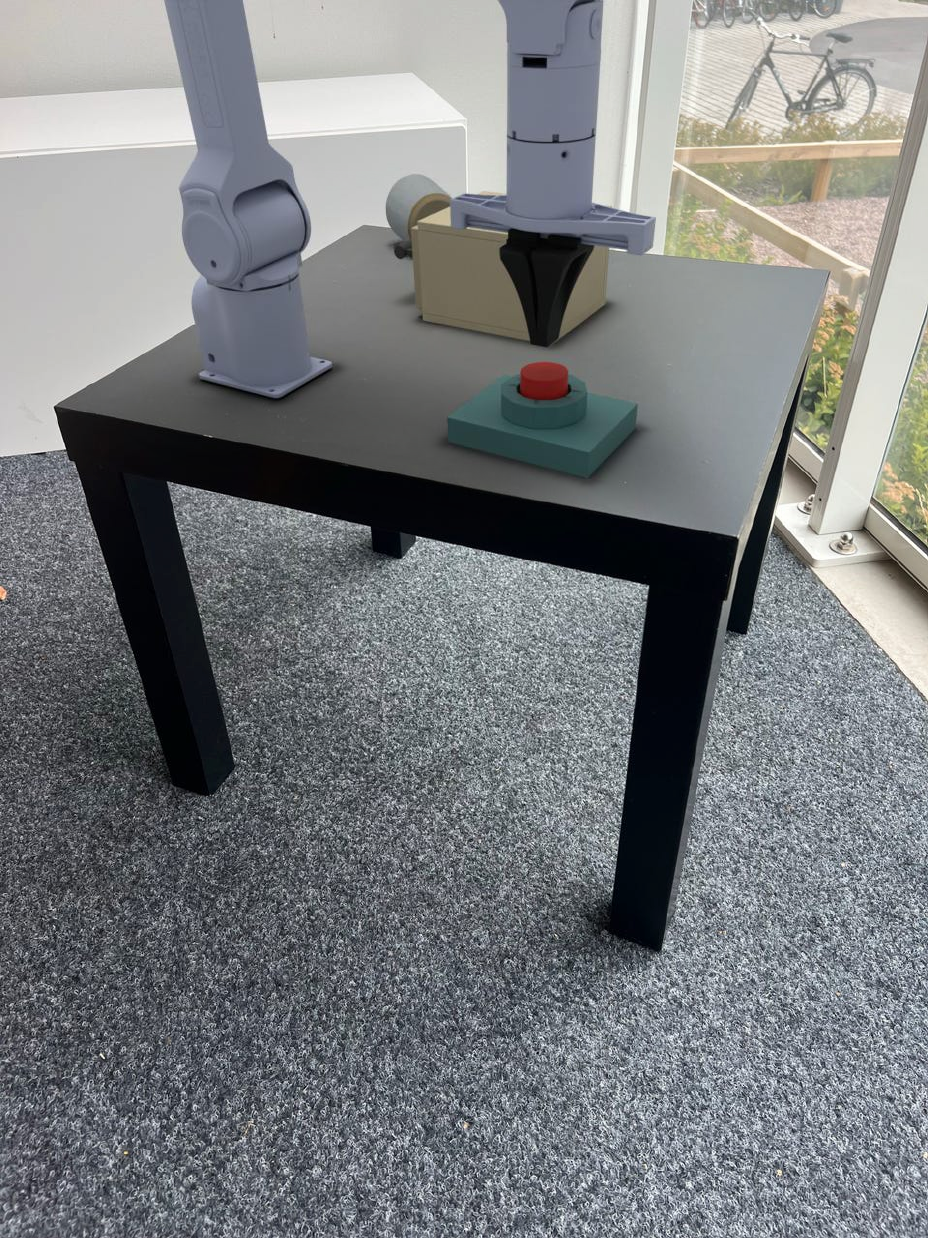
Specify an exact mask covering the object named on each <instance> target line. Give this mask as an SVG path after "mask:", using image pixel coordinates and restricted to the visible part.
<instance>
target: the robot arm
mask: <svg viewBox="0 0 928 1238" xmlns="http://www.w3.org/2000/svg"><path fill="white" fill-rule="evenodd" d="M163 1H164V6H165V11H166V15H167V19H168V23H169V28H170V32H171V36H172V41H173V45H174V51H175V55H176V58H177V65H178V68H179V72H180V77H181V82H182V87H183V90H184V95H185V100H186V104H187V107H188V113H189V117H190V122H191V126H192V130H193V136H194V139H195V145H196V148H197V152H196V154H195V157H194V159H193V161H192V163H191V164H190V166H189V167H188V169H187V171H186V173H185V175H184V176H183V178H182V179H181V182H180V184H179V187H178V191H179V196H180V199H181V203H182V221H181V237H182V242H183V246H184V251H185V252H186V255H187V257H188V259H189V261H190V262H191V264H192V266H193V267H194V269H195V270H196V271H197V272H198V273H199V274H200V276H199V277H198V278H197V280H196V282H195V283H194V286H193V290H192V293H191V312H192V317H193V322H194V325H195V330H196V335H197V339H198V343H199V348H200V352H201V357H202V362H203V365H204V370H202V371H200V372H199V373H198V377H199V379H200V380H203V381H206V382H212V383H214V384H218V385H223V386H227V387H230V388H234V389H238V390H242V391H246V392H249V393H253V394H257V395H260V396H265V397H268V398H272V399H280V398H282V397H284V396H286V395H287V394H289V393H290V392H292V391H294V390H296V389H297V388H299V387H301V386H303V385H305V384H306V383H308V382H310V381H311V380H313V379H315V378H316V377H318V376H319V375H321V374H323V373H324V372H326V371H328V370H330V369H331V368H333V361H330V360H327V359H322V358H318V357H314V356H311V349H310V342H309V335H308V328H307V321H306V313H305V308H304V307H305V306H304V300H303V294H302V286H301V280H300V273H299V268H302V267H303V258H302V252H304V251H305V250H306V248H307V247H308V245H309V243H310V239H311V235H312V222H311V216H310V212H309V209H308V207H307V204H306V202H305V200H304V199H303V196H302V195H301V194H300V191H299V188H298V186H297V182H296V178H295V173H294V168H293V165H292V164H291V162H290V161H289V160H287V158H285V156H283V155H282V154H281V153H279V152H278V151H277V150H276V149H275V148H274V147H273V146H272V145H271V143H270V142H269V139H268V132H267V125H266V121H265V115H264V110H263V104H262V100H261V94H260V88H259V82H258V77H257V72H256V65H255V60H254V55H253V54H254V53H253V48H252V43H251V38H250V32H249V27H248V21H247V16H246V10H245V4H244V0H163ZM497 2H498V3H499V5H500V6H501V8H502V10H503V12H504V16H505V22H506V45H507V47H506V49H507V50H506V193H505V194H506V195H480V194H478V193H468V192H467V193H466V192H464V193H461V194H460V195H457V196H454V197H452V199H450V216H451V228H454V229H466V228H467V227H470V228H477V229H483V230H490V231H497V232H504V233H508V239H507V240H506V244H505V245H503V246H501V247H500V249H499V254H500V260H501V261H502V263H503V265H504V266H505V268H506V270H507V272H508V274H509V276H510V278H511V280H512V282H513V284H514V286H515V288H516V291H517V293H518V296H519V299H520V302H521V305H522V308H523V312H524V316H525V320H526V324H527V328H528V333H529V338H530V341H529V343H530V345H533V346H538V347H542V348H548V347H550V346H552V345H553V344H554V343H553V342H555V341H556V340H557V339H559V334H560V329H561V325H562V321H563V317H564V314H565V310H566V307H567V304H568V301H569V299H570V296H571V293H572V291H573V288H574V286H575V284H576V282H577V279H578V277H579V275H580V273H581V271H582V269H583V267H584V265H585V264H586V262H587V260H588V258H589V257H590V255H591V253H592V251H593V249H594V246H602V247H609V249H617V250H622V251H623V250H624V251H626V252H627V254H629V255H634V256H640V257H641V256H643V255H644V254H646V253H648V252H649V251H650V250H651V249H653V248H654V239H655V231H656V219H657V217H656V216H652V215H645V214H638V213H634V212H630V211H627V210H623V209H618V208H615V207H612V208H611V207H607V206H608V205H606V206H604V205H605V204H599V203H595V202H593V193H594V192H593V191H594V190H593V189H594V172H595V157H596V155H595V154H596V138H597V127H598V126H597V124H598V109H599V93H600V91H599V90H600V74H601V61H602V34H603V33H602V32H603V16H604V0H497ZM559 340H560V339H559ZM557 341H558V340H557ZM557 341H556V342H557ZM556 342H555V343H556ZM552 343H553V344H552ZM551 344H552V345H551Z"/></svg>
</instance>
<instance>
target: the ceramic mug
mask: <svg viewBox="0 0 928 1238" xmlns="http://www.w3.org/2000/svg"><path fill="white" fill-rule="evenodd" d="M452 198H453V197H452V196H451V195H450V193H448V192H447V191H445V190H444V189H443V188H442V187H440V185H439V184H437V183H436V182H435V180H432V178H430V177H428V176H427V175H423V174H419V173H412V174H408V175H405V176H403V177H401V178H399V179H398V180H397V181H396V182H395V183H394V184H393V186H392V187H391V188H390V190H389V192H388V194H387V197H386V201H385V217H386V220H387V223H388V226H389V227H390V229H391V230H392V232H393V233H394V234H395V235H397V237H399V238H400V239H402V240H403V242H405V241H407V240H409V239H411V228H412V227H415V226H417V221H419V220H421V219H424V218H426V217H428V216H430V215H432V214H435V213H437V212H439V211H441V210H443V209H446V208H448V207H450V199H452Z"/></svg>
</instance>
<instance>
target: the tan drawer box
mask: <svg viewBox="0 0 928 1238" xmlns="http://www.w3.org/2000/svg"><path fill="white" fill-rule="evenodd" d="M477 194H480V195H506V193H503V192H495V191H485V190H483V191H481V192H479V193H477ZM603 205H604V206H607V207H611V208H613V206H612V205H605V204H603ZM417 225H418V242H419V259H420V276H421V293H422V309H421V310H422V321H423V322H427V323H431V324H432V323H433V324H438V325H445V326H450V327H455V328H461V329H465V330H471V331H475V332H481V333H486V334H492V335H497V336H500V337H501V336H502V337H507V338H513V339H518V340H522V341H527V342H530V338H529V333H528V328H527V324H526V320H525V316H524V312H523V308H522V305H521V302H520V299H519V296H518V293H517V291H516V288H515V286H514V284H513V282H512V280H511V278H510V276H509V274H508V272H507V270H506V268H505V266H504V265H503V263H502V261H501V260H500V254H499V249H500V247H501V246H503V245H505V244H506V240H507V239H508V233H504V232H497V231H490V230H483V229H477V228H470V227H467V228H466V229H454V228H451V216H450V207H448V208H446V209H443V210H441V211H439V212H437V213H435V214H432V215H430V216H428V217H426V218H424V219H421V220H419V221H417ZM609 256H610V248H609V247H602V246H594V249H593V251H592V253H591V255H590V257H589V258H588V260H587V262H586V264H585V265H584V267H583V269H582V271H581V273H580V275H579V277H578V279H577V282H576V284H575V286H574V288H573V291H572V293H571V296H570V299H569V301H568V304H567V307H566V310H565V314H564V317H563V321H562V325H561V329H560V334H559V339H557V340H556V341H555V342H553V343H552V344H551V345H550V346H552V345H553V344H555V343H556V342H558V341H559V340H560V339H561V338H563V337H564V336H565V335H566V334H569V333H570V332H571V331H572V330H574V329H575V328H576V327H577V326H579V325H580V324H582V323H583V322H584V321H585V320H587V319H588V318H590V317H591V316H593V314H595V313H596V312H597V311H598V310H600V309H601V308H603V307H604V306H605V305H606V303H607V302H606V300H607V285H608V273H609V272H608V270H609V259H610V257H609Z"/></svg>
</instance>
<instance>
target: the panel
mask: <svg viewBox="0 0 928 1238" xmlns="http://www.w3.org/2000/svg"><path fill="white" fill-rule="evenodd" d="M638 408H639V403H638V402H634V401H633V402H632V401H627V400H624V399H619V398H614V397H610V396H605V395H600V394H595V393H591V392H588V390H587V384H586V382H585V381H584V380H582V379H580V378H578V377H577V376H575V375H574V374H570V373H568V390H567V395H566V396H565V397H562V398H559V399H555V400H534V399H529V398H525V397H523V396H522V395H521V394H520V373H518V374H515V375H507V374H503V375H501V376H500V377H499V378H497V379H496V380H494V381H493V382H492V383H491V384H489V385H488V386H487V387H485V388H484V389H483V390H481V391H480V392H479V393H477V394H476V395H475V396H474V397H472V398H471V399H469V400H468V401H467V402H465V403H464V404H463V405H461V406H460V407H459V408H457V409H456V410H454V411H453V412H451V414H449V415H448V416H446V417H447V418H446V419H447V439H448V440H447V442H448V443H451V444H454V445H458V446H462V447H466V448H470V449H473V450H476V451H482V452H485V453H489V454H493V455H496V456H499V457H505V458H507V459H512V460H516V461H519V462H524V463H528V464H532V465H534V466H539V467H543V468H546V469H550V470H554V471H558V472H562V473H566V474H570V475H574V476H577V477H581V478H585V479H589V478H590V476H592V475H593V474H594V472H595V471H596V470H597V469H598V468H600V467H601V465H602V464H603V463H604V462H605V461H606V460H607V459H608V458H609V457H610V456H611V455H612V454H613V453H614V452H615V451H616V450H617V448H618V447H619V446H621V444H622V443H623V442H624V441H626V439H627V438H628V437H629V436H630V435H631V434H632V433H633V432H634V431H635V430H636V428H637V417H638Z"/></svg>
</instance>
